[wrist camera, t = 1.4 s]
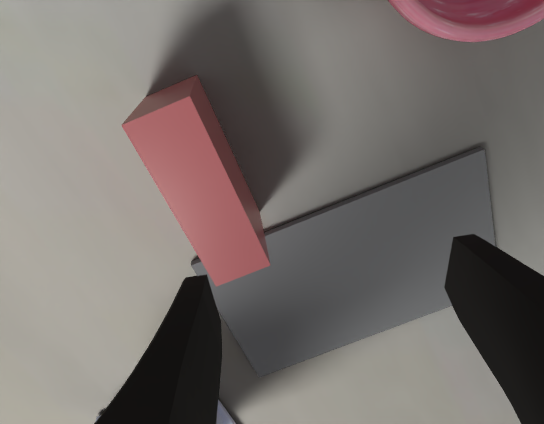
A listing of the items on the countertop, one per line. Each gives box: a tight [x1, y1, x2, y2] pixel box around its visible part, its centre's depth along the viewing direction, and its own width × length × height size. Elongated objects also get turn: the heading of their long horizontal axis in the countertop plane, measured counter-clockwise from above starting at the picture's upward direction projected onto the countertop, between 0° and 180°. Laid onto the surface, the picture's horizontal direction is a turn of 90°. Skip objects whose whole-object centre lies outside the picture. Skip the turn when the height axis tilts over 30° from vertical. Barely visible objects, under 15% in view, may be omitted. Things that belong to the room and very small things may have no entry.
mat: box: [191, 147, 496, 377], centre depth 28 cm, size 20×12×1 cm, turn 111°
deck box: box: [122, 75, 270, 286], centre depth 20 cm, size 3×9×6 cm, turn 21°
